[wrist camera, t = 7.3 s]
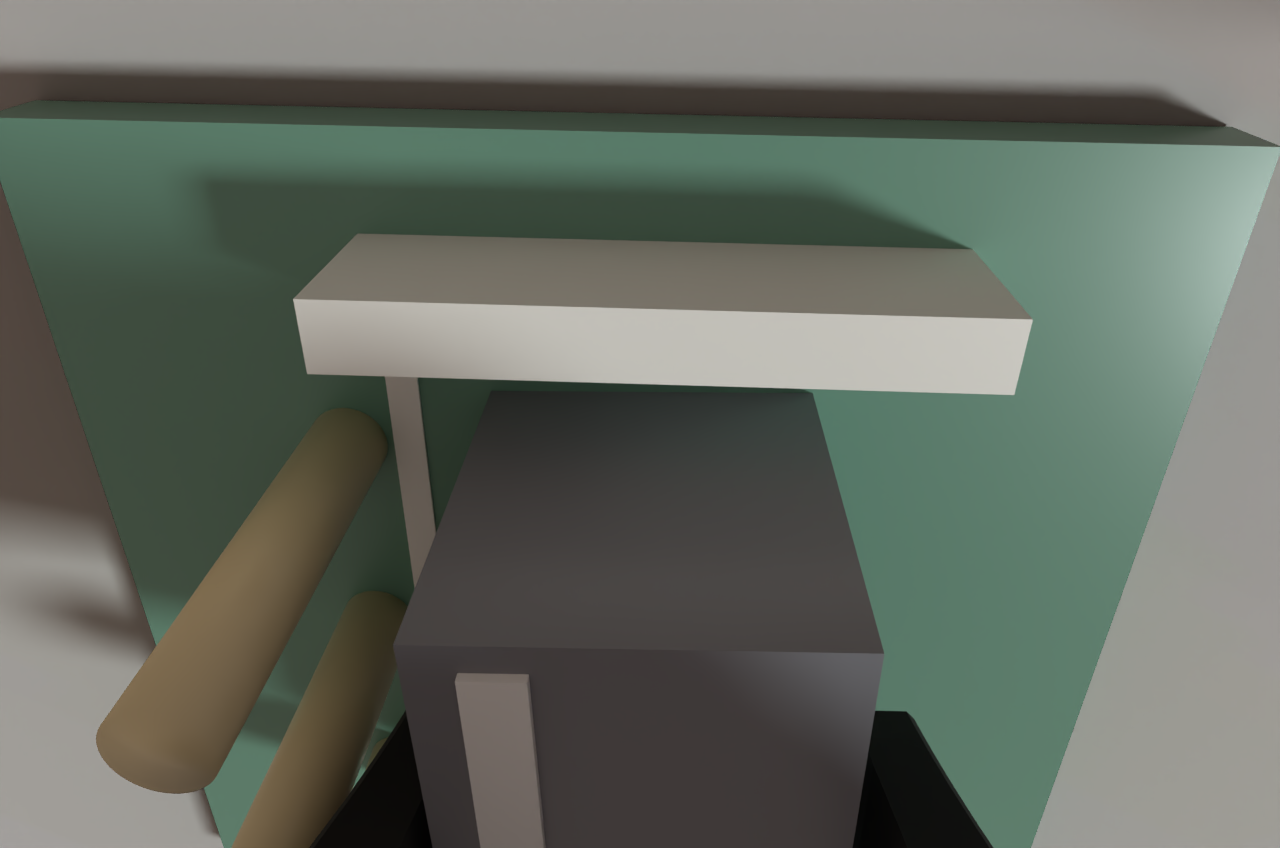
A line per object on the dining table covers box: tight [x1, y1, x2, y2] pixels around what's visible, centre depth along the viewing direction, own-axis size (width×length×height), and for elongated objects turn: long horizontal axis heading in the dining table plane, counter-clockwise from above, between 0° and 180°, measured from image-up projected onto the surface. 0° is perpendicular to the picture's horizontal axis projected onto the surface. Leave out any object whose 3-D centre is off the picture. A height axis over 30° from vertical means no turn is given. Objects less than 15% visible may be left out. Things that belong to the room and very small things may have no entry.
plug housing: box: [393, 391, 884, 848], centre depth 11 cm, size 4×7×5 cm, turn 1°
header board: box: [0, 100, 1280, 848], centre depth 11 cm, size 14×14×6 cm
